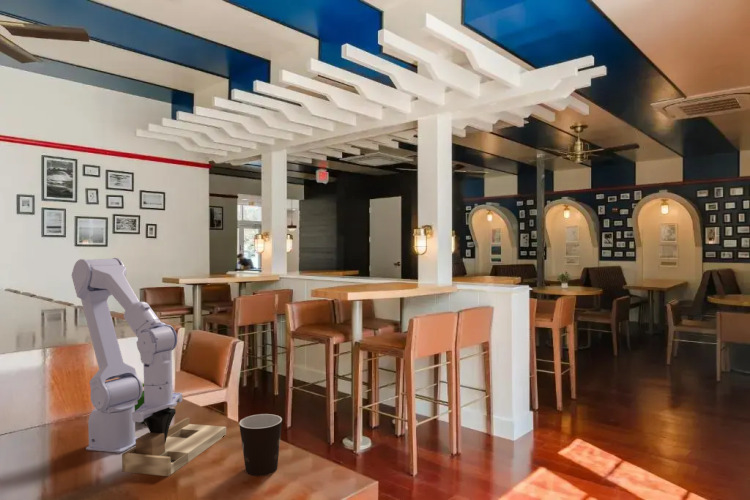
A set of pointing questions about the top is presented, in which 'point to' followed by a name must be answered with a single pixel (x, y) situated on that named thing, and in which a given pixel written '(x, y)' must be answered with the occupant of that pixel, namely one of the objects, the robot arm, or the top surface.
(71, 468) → the top surface
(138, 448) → the walnut block
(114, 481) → the top surface
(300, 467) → the top surface
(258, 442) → the black cup
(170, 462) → the birch tray
